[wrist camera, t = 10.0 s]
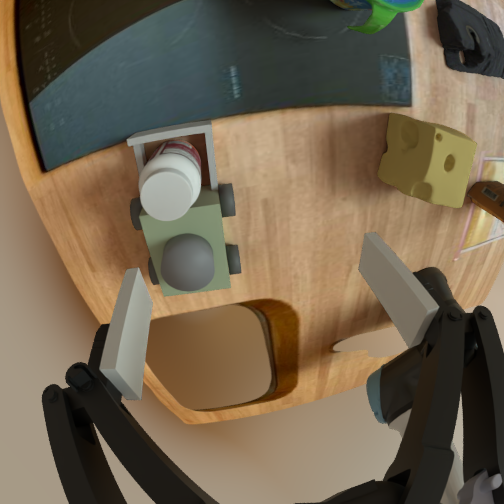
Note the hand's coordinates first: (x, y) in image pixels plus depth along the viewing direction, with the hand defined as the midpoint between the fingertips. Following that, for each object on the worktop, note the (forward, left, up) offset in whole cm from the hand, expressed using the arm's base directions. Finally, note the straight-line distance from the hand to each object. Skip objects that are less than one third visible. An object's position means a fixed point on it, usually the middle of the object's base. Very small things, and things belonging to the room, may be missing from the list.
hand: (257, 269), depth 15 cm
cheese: (+1, -27, -21) cm, 34 cm away
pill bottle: (+1, +6, -21) cm, 22 cm away
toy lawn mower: (-5, +6, -21) cm, 22 cm away
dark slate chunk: (+24, -44, -22) cm, 55 cm away
